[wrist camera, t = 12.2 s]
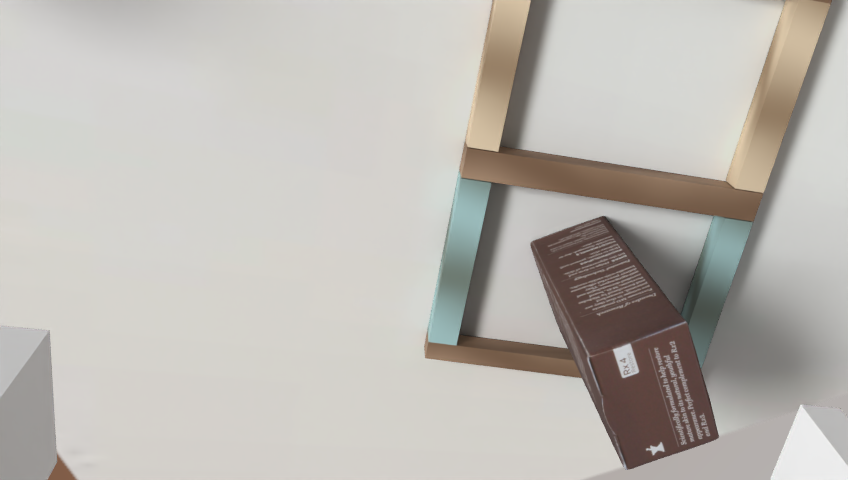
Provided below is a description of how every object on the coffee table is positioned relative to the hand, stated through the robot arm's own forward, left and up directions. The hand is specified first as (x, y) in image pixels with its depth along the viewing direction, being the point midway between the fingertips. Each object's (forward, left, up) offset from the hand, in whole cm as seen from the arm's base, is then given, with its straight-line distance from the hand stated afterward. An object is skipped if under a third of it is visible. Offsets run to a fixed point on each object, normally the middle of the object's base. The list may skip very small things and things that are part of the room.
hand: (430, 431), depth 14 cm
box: (+8, +11, -27) cm, 30 cm away
